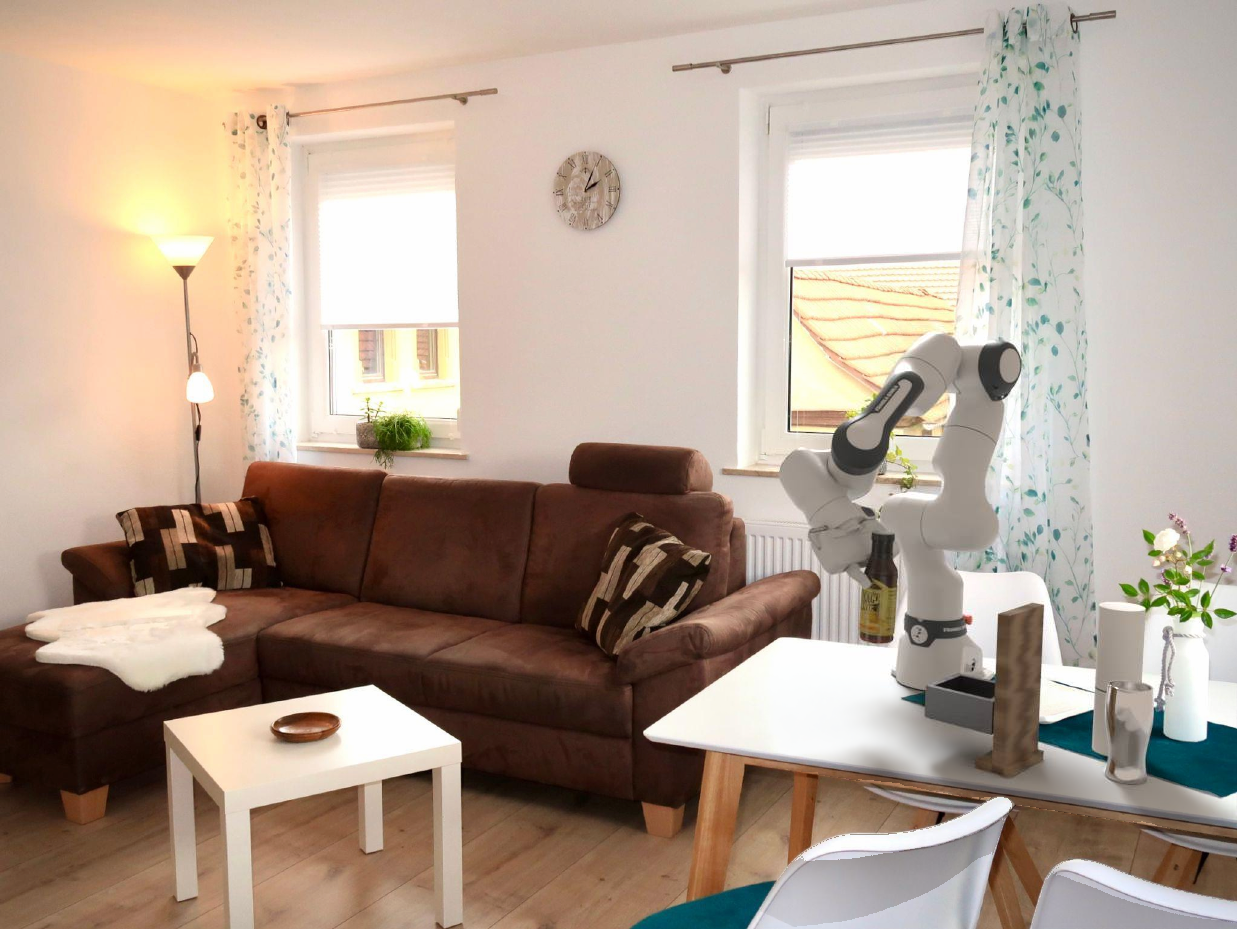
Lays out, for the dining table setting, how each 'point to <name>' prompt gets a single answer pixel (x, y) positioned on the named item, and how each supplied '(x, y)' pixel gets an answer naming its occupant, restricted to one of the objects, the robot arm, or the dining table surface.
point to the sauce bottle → (879, 592)
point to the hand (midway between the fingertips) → (882, 584)
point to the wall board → (1016, 692)
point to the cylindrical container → (1116, 658)
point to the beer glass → (1128, 729)
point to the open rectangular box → (962, 702)
